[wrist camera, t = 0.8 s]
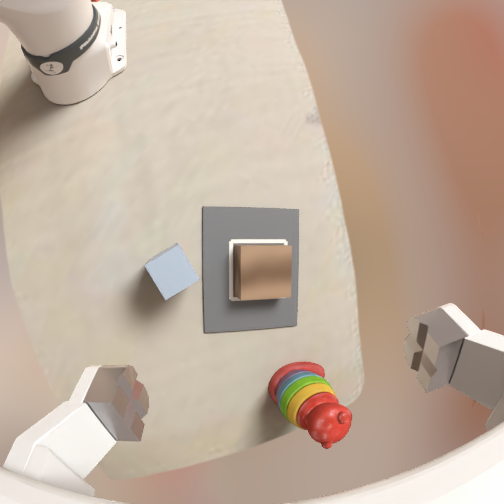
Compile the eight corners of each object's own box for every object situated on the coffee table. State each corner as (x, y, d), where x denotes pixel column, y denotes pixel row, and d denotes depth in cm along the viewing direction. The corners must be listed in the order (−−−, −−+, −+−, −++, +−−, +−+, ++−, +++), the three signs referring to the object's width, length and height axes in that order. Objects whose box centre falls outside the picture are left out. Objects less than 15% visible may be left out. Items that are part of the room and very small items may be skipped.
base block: (234, 245, 48) (240, 246, 44) (282, 244, 50) (291, 245, 46) (234, 295, 48) (240, 300, 45) (281, 292, 51) (291, 297, 47)
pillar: (149, 259, 45) (144, 265, 35) (176, 242, 46) (179, 244, 36) (165, 287, 46) (165, 300, 36) (192, 270, 47) (199, 279, 37)
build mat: (203, 206, 47) (203, 206, 46) (297, 209, 51) (299, 209, 51) (204, 332, 48) (204, 333, 47) (295, 324, 52) (297, 325, 52)
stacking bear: (299, 412, 54) (344, 463, 37) (256, 400, 51) (294, 457, 34) (326, 367, 55) (382, 408, 38) (285, 351, 52) (335, 396, 35)
